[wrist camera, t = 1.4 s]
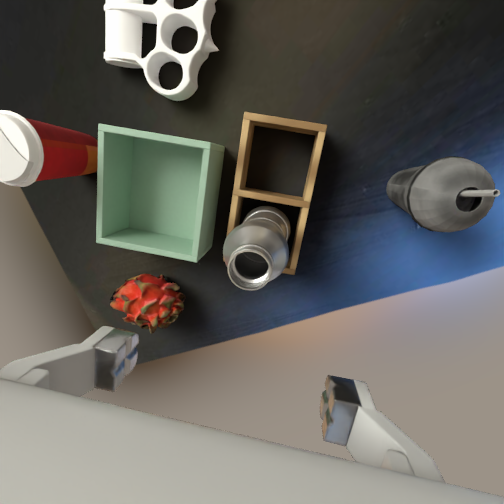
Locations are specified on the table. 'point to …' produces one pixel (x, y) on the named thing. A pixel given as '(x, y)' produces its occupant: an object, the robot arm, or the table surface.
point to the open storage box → (157, 192)
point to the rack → (302, 202)
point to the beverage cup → (444, 193)
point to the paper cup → (42, 151)
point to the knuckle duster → (158, 40)
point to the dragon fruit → (149, 301)
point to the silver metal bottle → (258, 248)
